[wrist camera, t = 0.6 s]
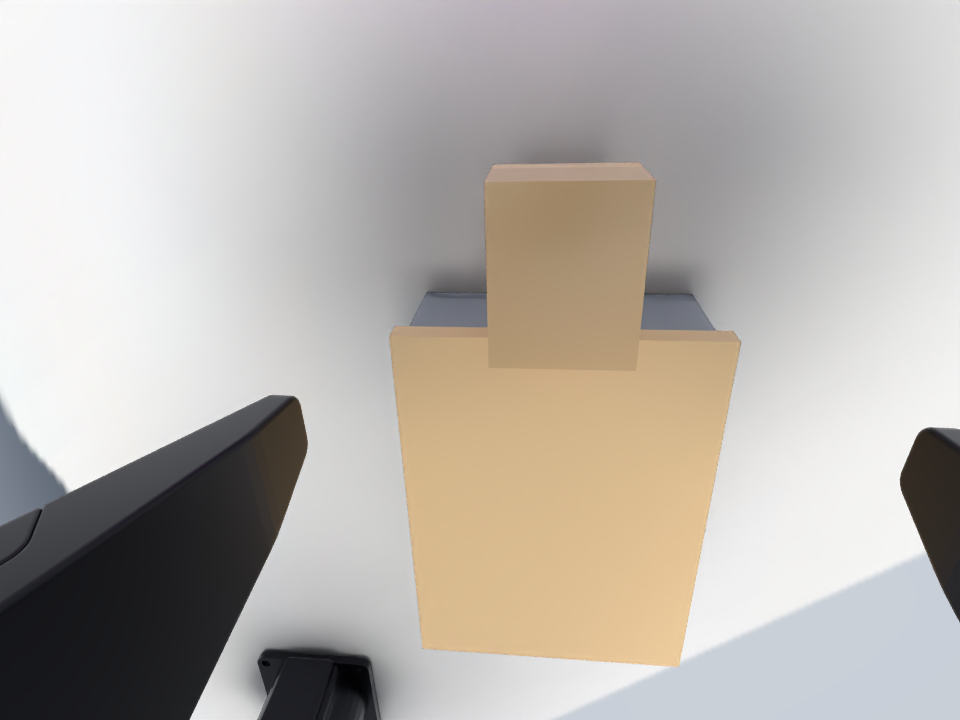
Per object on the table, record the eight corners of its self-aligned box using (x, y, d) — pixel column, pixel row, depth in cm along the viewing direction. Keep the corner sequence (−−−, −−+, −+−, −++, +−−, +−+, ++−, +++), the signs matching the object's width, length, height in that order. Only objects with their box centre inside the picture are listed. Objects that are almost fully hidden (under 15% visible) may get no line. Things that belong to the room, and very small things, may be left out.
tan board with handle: (675, 649, 24) (689, 715, 22) (426, 632, 25) (413, 693, 23) (764, 160, 16) (806, 177, 13) (378, 165, 17) (349, 183, 14)
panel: (652, 570, 28) (668, 644, 24) (446, 558, 29) (432, 628, 25) (692, 294, 22) (721, 339, 18) (426, 292, 23) (404, 334, 19)
